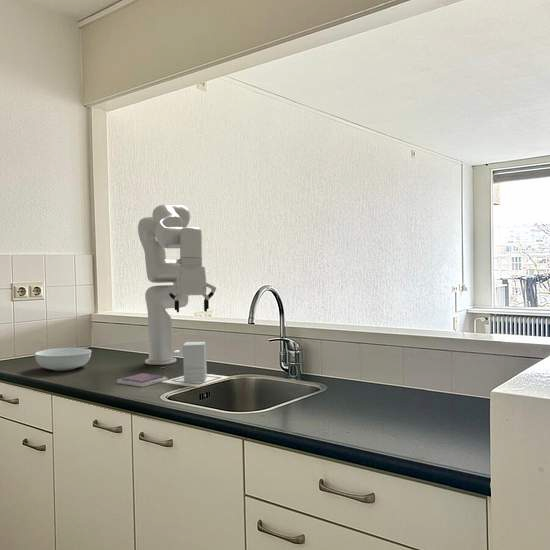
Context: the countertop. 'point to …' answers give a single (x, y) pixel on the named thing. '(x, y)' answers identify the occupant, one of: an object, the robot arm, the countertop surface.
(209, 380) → the print sheet
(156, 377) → the ink pad
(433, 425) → the countertop surface
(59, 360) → the serving bowl
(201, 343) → the supplement box
